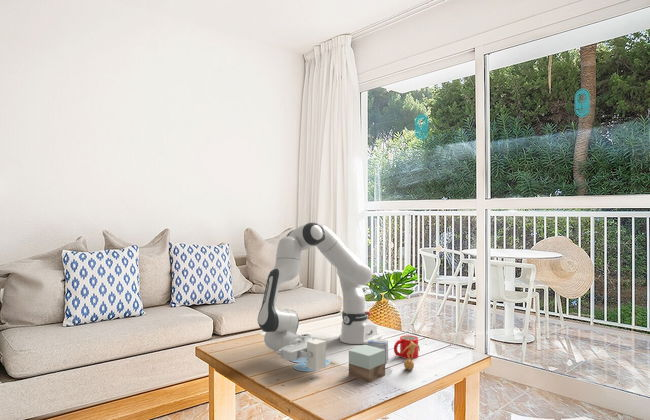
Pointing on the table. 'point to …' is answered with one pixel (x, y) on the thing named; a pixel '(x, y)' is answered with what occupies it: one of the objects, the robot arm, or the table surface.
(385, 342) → the medicine box
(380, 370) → the tower bottom
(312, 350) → the tall block
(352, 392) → the table surface
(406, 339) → the mug
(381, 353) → the tower top
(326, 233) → the robot arm
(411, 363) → the figurine
